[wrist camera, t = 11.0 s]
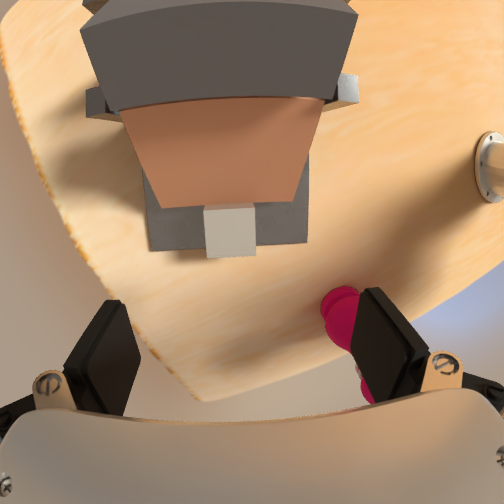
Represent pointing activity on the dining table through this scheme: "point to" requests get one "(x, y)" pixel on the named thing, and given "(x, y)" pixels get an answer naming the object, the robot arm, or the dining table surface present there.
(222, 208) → the light grey cube
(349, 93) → the frame
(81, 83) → the dining table surface
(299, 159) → the trapdoor
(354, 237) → the dining table surface
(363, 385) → the pepper mill
